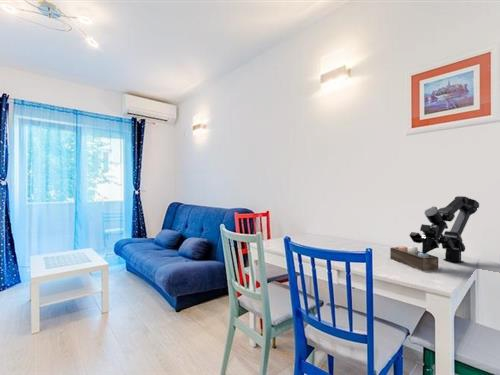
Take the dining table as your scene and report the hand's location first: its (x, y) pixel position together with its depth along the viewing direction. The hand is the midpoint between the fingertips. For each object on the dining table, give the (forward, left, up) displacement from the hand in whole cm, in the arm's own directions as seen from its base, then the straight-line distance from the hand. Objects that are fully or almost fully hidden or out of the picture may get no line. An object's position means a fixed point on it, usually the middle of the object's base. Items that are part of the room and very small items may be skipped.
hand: (423, 253), depth 130 cm
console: (0, -7, -7) cm, 10 cm away
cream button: (0, -7, -4) cm, 8 cm away
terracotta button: (0, -14, -5) cm, 15 cm away
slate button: (0, 0, -5) cm, 5 cm away
